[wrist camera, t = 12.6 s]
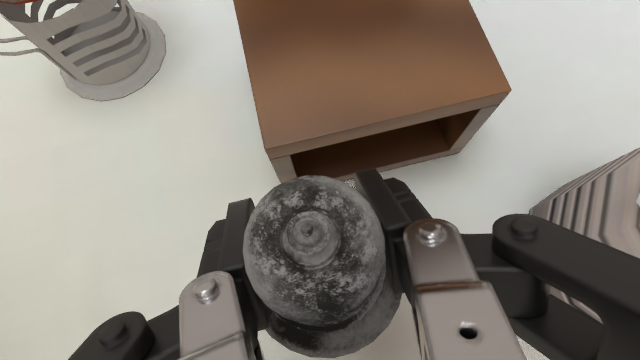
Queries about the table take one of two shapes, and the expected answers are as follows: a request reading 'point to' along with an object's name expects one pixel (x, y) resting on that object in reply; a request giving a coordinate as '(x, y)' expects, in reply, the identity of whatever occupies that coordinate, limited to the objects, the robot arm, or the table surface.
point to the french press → (92, 44)
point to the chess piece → (319, 267)
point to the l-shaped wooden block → (366, 81)
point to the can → (599, 210)
